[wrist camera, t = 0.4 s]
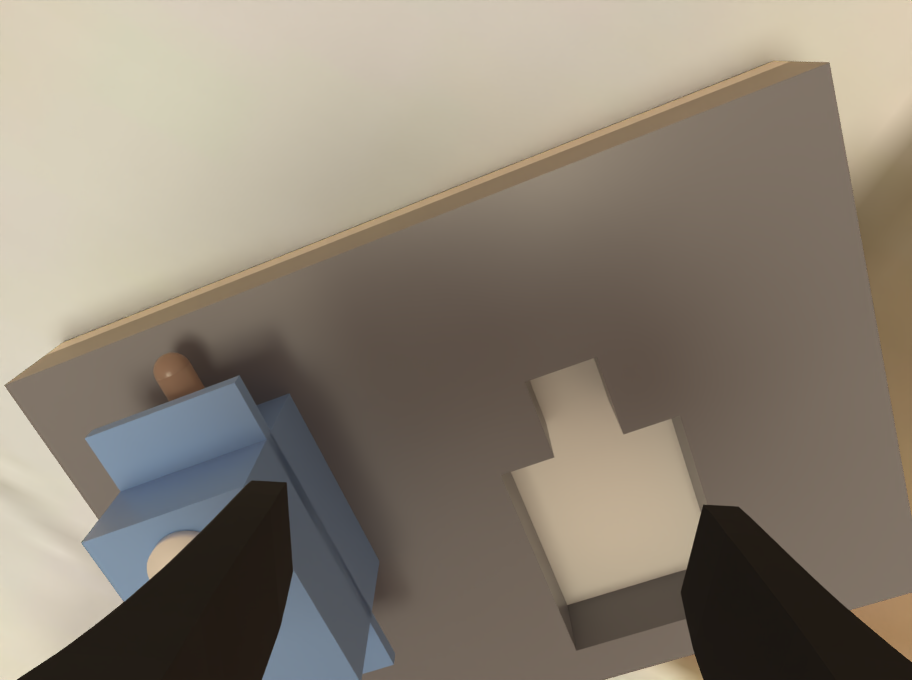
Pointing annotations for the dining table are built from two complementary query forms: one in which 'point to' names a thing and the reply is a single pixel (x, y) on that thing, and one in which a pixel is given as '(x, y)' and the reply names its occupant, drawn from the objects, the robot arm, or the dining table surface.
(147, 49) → the dining table surface
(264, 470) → the servo
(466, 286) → the grey flat block
